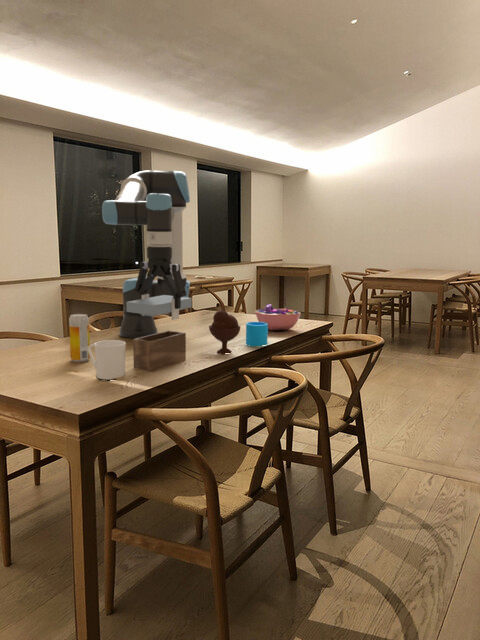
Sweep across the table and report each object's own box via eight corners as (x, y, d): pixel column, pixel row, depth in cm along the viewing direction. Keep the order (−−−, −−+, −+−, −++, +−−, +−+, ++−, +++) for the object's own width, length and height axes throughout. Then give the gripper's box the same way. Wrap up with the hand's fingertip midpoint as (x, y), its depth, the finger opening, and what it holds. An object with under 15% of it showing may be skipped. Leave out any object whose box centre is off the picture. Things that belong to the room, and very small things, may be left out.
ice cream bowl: (213, 357, 183) (213, 313, 180) (206, 349, 193) (206, 308, 191) (243, 355, 186) (243, 312, 183) (234, 348, 196) (235, 308, 194)
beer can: (82, 357, 180) (81, 313, 177) (93, 360, 176) (92, 315, 173) (66, 360, 175) (65, 315, 173) (77, 363, 171) (76, 317, 169)
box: (133, 371, 163) (133, 339, 162) (168, 360, 178) (168, 330, 176) (151, 374, 160) (151, 342, 158) (185, 363, 174) (185, 332, 173)
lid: (126, 315, 161) (126, 301, 161) (164, 306, 177) (164, 294, 176) (155, 319, 156) (155, 305, 155) (191, 310, 171) (191, 298, 170)
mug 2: (260, 348, 198) (260, 326, 196) (241, 345, 202) (242, 324, 201) (276, 342, 208) (276, 321, 206) (257, 340, 212) (258, 319, 211)
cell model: (299, 335, 223) (300, 308, 221) (251, 332, 226) (252, 306, 224) (301, 327, 240) (302, 302, 238) (256, 325, 243) (257, 301, 241)
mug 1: (129, 373, 161) (128, 340, 159) (123, 382, 152) (122, 346, 150) (92, 373, 160) (91, 339, 159) (84, 381, 152) (83, 346, 150)
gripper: (121, 244, 165) (123, 314, 169) (183, 248, 153) (183, 323, 158) (138, 243, 171) (139, 311, 176) (198, 247, 160) (198, 319, 164)
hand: (160, 317), depth 167 cm, fingers closed on lid, 11 cm apart
